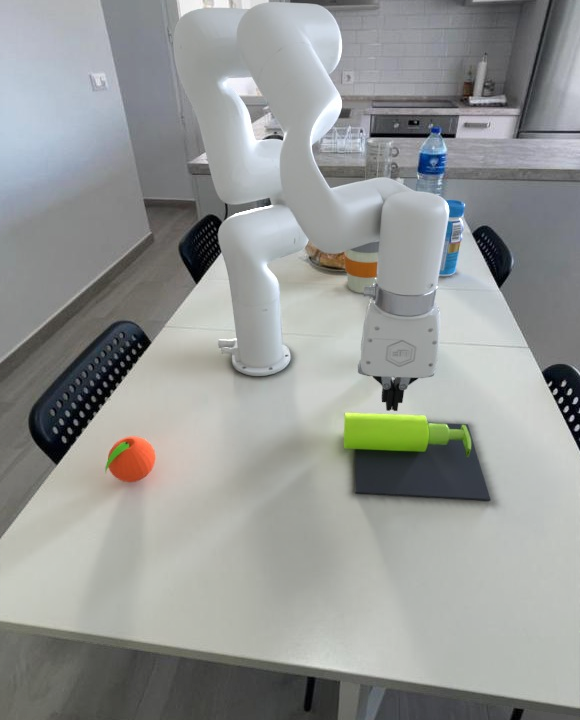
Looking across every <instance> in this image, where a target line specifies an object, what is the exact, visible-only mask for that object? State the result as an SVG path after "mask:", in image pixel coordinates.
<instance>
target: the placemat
mask: <svg viewBox="0 0 580 720" xmlns="http://www.w3.org/2000/svg"><path fill="white" fill-rule="evenodd" d="M427 423H429V422H428V421H427ZM435 423H436V424H447V426H448V427H449V429H459V430H461V426H462V425H466V427H467V430H468V432H469V435H470V438H471V450H470V454H469V457H467V456H466V455H465V447H464V443H463V440H449V442H448V443H447V444H446V445H441V444H428V445H427V448H426V451H425V452H420V451H394V450H368V449H354V480H355V481H354V487H355V488H354V493H355V494H360V495H378V496H397V497H398V496H399V497H412V498H413V497H414V498H415V497H416V498H417V497H418V498H435V499H452V500H469V501H470V500H471V501H486V502H487V501H488V502H490V501H491V496H490V492H489V489H488V486H487V482H486V480H485V476H484V473H483V469H482V466H481V463H480V460H479V457H478V453H477V450H476V447H475V443H474V441H473V440H474V439H473V437H472V434H471V431H470V427H469V424H468V423H450V422H449V423H448V422H435Z"/></svg>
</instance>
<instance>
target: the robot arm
mask: <svg viewBox="0 0 580 720" xmlns="http://www.w3.org/2000/svg"><path fill="white" fill-rule="evenodd" d="M172 39H173V40H172V42H173V43H172V45H173V57H174V63H175V68H176V72H177V75H178V78H179V82H180V84H181V86H182V88H183V90H184V92H185V95H186V97H187V99H188V101H189V104H190V106H191V107H192V110H193V112H194V115H195V117H196V120H197V123H198V127H199V130H200V131H199V132H200V136H201V140H202V143H203V148H204V152H205V156H206V160H207V164H208V168H209V173H210V176H211V179H212V183H213V187H214V191H215V193H216V194H217V196H218V198H219V199H220V201H222V202H223V204H227V205H242V204H247V203H252V202H256V201H260V200H265V199H269V201H270V205H268V206H264V207H257V208H253V209H250V210H245V211H241V212H238V213H235V214H233V215H231V216H228V217H227V218H225V219H224V220H223V221H222V223H220V226H219V228H218V232H217V240H218V244H219V248H220V251H221V255H222V258H223V261H224V265H225V268H226V272H227V277H228V283H229V291H230V298H231V305H232V313H233V314H232V315H233V323H234V328H235V336H236V337H235V338H232V339H225V338H224V339H223V338H222V339H221V338H220V339H218V342H217V346H218V349H220V353H221V354H222V355H229V354H230V355H231V363H232V366H233V367H234V369H235V370H237V371H238V372H239V373H241V374H244V375H246V376H252V377H266V376H271V375H274V374H277V373H279V372H281V371H283V370H284V369H285V368H286V367H288V365H289V363H290V361H291V351H290V349H289V347H288V346H286V344H284V343H283V328H282V309H281V291H280V283H279V279H278V278H277V276H276V275H275V274H274V272H272V271H271V270H270V268H269V267H268V264H269V263H270V262H272V261H275V260H277V259H281V258H284V257H287V256H290V255H293V254H295V253H298V252H300V251H302V250H304V249H305V248H306V247H307V245H308V243H309V242H310V243H311V244H312V245H313V247H315V249H317V250H319V251H320V252H324V253H325V254H340V253H344V252H345V251H347V250H350V249H353V248H356V247H359V246H362V245H365V244H367V243H372V242H377V241H379V251H378V263H377V275H376V282H375V283H373V285H370V286H364V293H363V297H369V298H371V299H370V300H369V303H368V306H367V309H366V312H365V318H364V322H363V329H362V335H361V340H360V341H361V343H360V359H359V362H358V364H357V373H358V374H360V375H362V376H366V377H372V378H373V379H374V380H375V381H376V382H377V383H379V384H380V385H381V403H385V410H386V411H387V412H390V411H393V412H398V411H399V404H403V403H404V402H403V401H404V395H405V391H406V390H407V389H408V388H409V385H411V384H412V383H414V382H416V381H417V380H419V379H424V378H425V379H426V378H432V377H434V375H435V373H436V369H437V364H438V356H439V349H440V348H439V347H440V334H441V312H440V307H439V306H438V304H437V302H436V301H435V300H436V295H437V289H438V282H439V277H440V276H439V271H440V266H441V260H442V254H443V248H444V242H445V236H446V230H447V224H448V217H449V207H448V204H447V202H446V201H445V200H446V199H445V198H444V197H442V196H440V195H438V194H435V193H432V192H429V191H428V192H427V191H419V190H414V189H412V188H410V187H409V186H407V185H405V184H403V183H401V182H400V181H397V180H395V179H393V178H390V177H374V178H369V179H365V180H361V181H360V180H359V181H355V182H351V183H347V184H342V185H339V186H338V185H337V186H335V187H330V186H329V184H328V182H327V181H326V179H325V177H324V175H323V174H322V172H321V170H320V169H319V168H320V167H319V166H318V164H317V162H316V159H315V157H314V152H313V147H312V146H313V145H314V144H316V143H317V142H318V141H320V140H321V139H322V138H323V137H324V136H325V135H327V133H328V132H329V131H330V130H331V129H332V128H333V126H334V125H335V123H336V122H337V121H338V119H339V117H340V115H341V111H342V106H343V102H342V96H341V94H340V92H339V91H338V89H337V88H336V85H335V84H334V81H332V79H331V77H330V75H331V74H332V73H333V72H334V71H335V69H336V68H337V67H338V65H339V63H340V60H341V57H342V50H343V41H342V33H341V30H340V26H339V24H338V21H337V20H336V18H335V16H334V15H333V14H332V13H331V12H330V11H329V10H328V9H327V8H325V7H324V6H323V5H320V4H317V3H307V2H306V3H305V2H286V1H285V2H282V1H268V2H262V3H258V4H256V5H254V6H252V7H250V8H237V7H203V8H197V9H194V10H190V11H188V12H186V13H185V14H183V15H182V16H181V17H180V18H179V19H178V21H177V23H176V25H175V27H174V31H173V38H172ZM238 78H252V81H254V83H255V85H256V87H257V89H258V90H259V92H260V94H261V96H262V97H263V99H264V101H265V103H266V105H267V107H268V108H269V110H270V112H271V114H272V116H273V117H274V119H275V122H277V124H278V126H279V128H280V130H281V131H282V133H283V139H279V138H268V139H260V140H257V139H256V136H255V134H254V130H253V126H252V120H251V116H250V112H249V109H248V107H247V106H246V104H245V102H244V101H243V99H242V97H241V96H240V95H239V94H238V93H237V92H236V90H235V89H234V88H233V87H232V86H231V85H230V84H229V83H228V82H227V80H228V79H238ZM393 378H394V379H393Z"/></svg>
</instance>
